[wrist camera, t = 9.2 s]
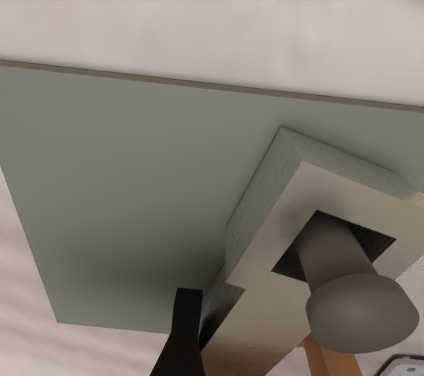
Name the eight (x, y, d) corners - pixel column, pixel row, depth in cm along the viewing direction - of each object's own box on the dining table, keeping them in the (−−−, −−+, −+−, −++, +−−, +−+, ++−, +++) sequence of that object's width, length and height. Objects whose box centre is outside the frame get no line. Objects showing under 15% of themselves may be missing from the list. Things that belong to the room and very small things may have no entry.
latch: (281, 126, 8) (302, 160, 6) (400, 175, 8) (459, 223, 6) (171, 329, 14) (161, 384, 12) (246, 348, 14) (250, 404, 12)
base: (446, 109, 9) (743, 212, 4) (321, 331, 15) (367, 473, 10) (-11, 58, 8) (-344, 95, 3) (67, 306, 15) (-10, 437, 10)
